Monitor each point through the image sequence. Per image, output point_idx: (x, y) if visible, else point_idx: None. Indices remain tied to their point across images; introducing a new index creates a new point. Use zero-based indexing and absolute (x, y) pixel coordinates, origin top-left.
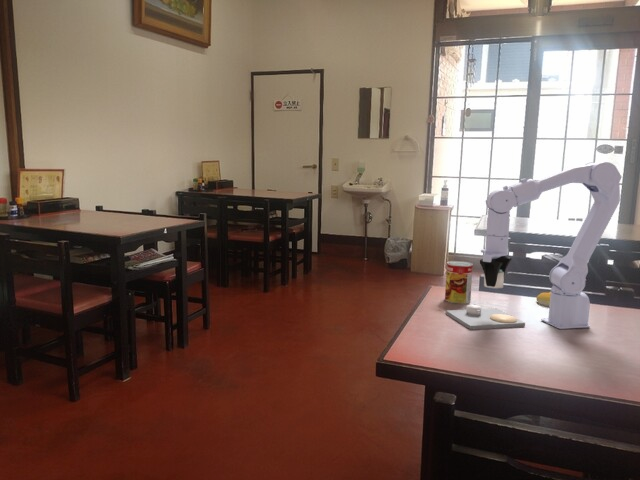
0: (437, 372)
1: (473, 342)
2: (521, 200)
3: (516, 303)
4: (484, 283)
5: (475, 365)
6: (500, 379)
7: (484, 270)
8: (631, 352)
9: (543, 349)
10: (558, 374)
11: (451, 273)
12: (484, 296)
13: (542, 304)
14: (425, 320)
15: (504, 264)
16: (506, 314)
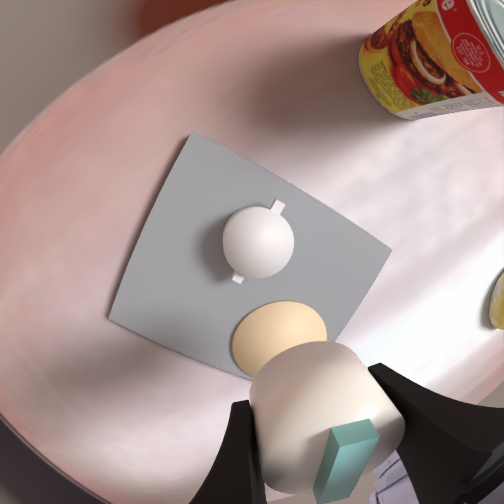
0: None
1: (54, 363)
2: None
3: (483, 239)
4: (268, 375)
5: (6, 400)
6: (18, 432)
7: (201, 492)
8: (285, 496)
9: (166, 456)
10: (99, 476)
11: (433, 11)
12: (485, 133)
13: (493, 291)
14: (63, 150)
15: (418, 488)
16: (342, 318)
